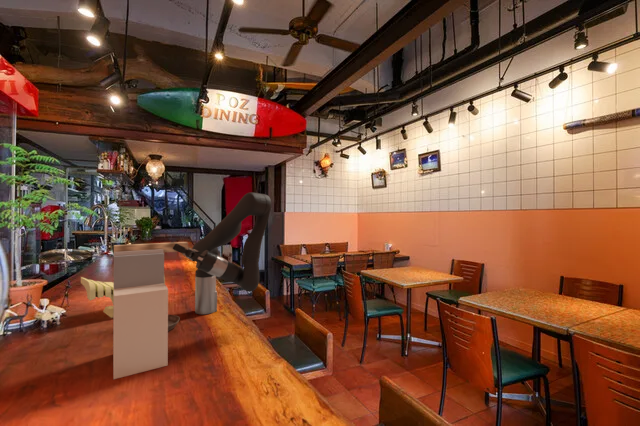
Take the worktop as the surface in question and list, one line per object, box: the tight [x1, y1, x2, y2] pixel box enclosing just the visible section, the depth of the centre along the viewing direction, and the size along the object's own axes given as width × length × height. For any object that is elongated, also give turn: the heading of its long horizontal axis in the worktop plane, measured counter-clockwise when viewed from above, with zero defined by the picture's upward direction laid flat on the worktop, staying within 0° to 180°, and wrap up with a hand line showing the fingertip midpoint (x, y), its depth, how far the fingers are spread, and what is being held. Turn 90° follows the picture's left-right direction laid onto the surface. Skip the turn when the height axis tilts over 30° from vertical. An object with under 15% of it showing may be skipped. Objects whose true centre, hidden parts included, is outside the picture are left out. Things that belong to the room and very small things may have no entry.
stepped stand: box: [112, 249, 169, 380], centre depth 97 cm, size 14×18×35 cm
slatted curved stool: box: [80, 275, 166, 319], centre depth 142 cm, size 30×16×18 cm, turn 140°
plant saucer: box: [168, 314, 181, 332], centre depth 123 cm, size 18×18×3 cm
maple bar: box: [113, 241, 189, 253], centre depth 103 cm, size 22×3×3 cm, turn 125°
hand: (172, 244), depth 107 cm, fingers open, 8 cm apart
